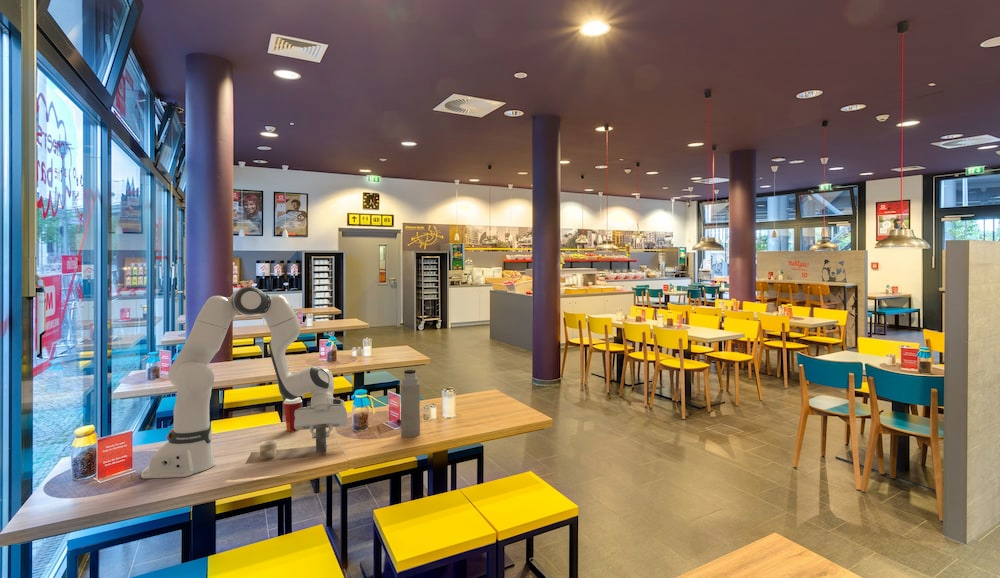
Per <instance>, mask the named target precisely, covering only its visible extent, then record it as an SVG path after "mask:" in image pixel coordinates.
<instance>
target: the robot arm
mask: <svg viewBox="0 0 1000 578" xmlns="http://www.w3.org/2000/svg"><path fill="white" fill-rule="evenodd" d="M258 314H259V315H260V316H261V317H263V319H264V320H265V322H266V324H267V326H268V328H269V331H270V341H268V349H269V354H270V358H271V362H272V364H273V365H272V366H273V368H274V371H275V375H276V378H277V386H278V392H279V393H280V395H281V396H282V397H283V398H285V399H289V400H294V399H296V398H298V397H300V398H301V396H304V395H306V394H309V393H311V394H312V395H311V398H310V406H305V407H302V406H301V407H300V408H299V409H296V410H295V413H294V416H295V421H294V428H295V429H296V430H298V431H304V430H305V431H306V430H309V432H310V434H311V438H312V439H316V431H314V430H316V425H317V424H326V429H327V428H328V430H326V438H330V437H331V436H330V434H331V433H332V431H333V429H334V428H338V427H346V426H347V425H348V424H349V422H348V421H349V420H348V416H349V415H348V411H347V408H346V407H345V401H344V400H343V399H341V398H335V397H334V391H335V383H334V382H335V381H334V375H333V373H332V371H331V370H329V369H327V368H321V367H319V366H317V365H313V366H310V367H306V368H304V369H301V370H299V371H297V372H294V373H292V372H291V370H290V368H289V365H288V360H287V356H286V351H287V349H288V348H289V347H290V346H291V344H293V343H294V342H295V341H296V339H298V337H299V335H300V334H301V330H302V327H301V323H300V320H299V318H298V315H297V314H296V312H295V309H294V308H293V307H292V305H291V303H290V302H289V301H288V299H287V298H286V296H284V295H282V294H272V295H268V294H267V293H265V292H264V291H263V290H261V289H259V288H258V287H256V286H243V287H240V288H238V289H237V290H236V291H235V292H233V293H232V294H231V295H229V296H228V297H226V296H222V295H213V296H210V297H209V298H208V299H207V300H206V302H205V303H204V304H203V305H202V308H200V311H199V312H198V314H197V315H196V319H195V321H194V323H193V326H192V328H191V331H190V333H189V335H188V337H187V339H186V341H185V343H184V345H183V346H182V348H181V350H180V351H179V352H178V354H177V356H176V357H175V360H174V361H173V363H172V364H171V365H170V367H169V368H168V372H167V374H168V375H167V376H168V380H169V382H170V383H171V385H173V386H174V387H176V398H175V405H174V408H173V428H172V429H171V430H169V433H168V434H167V435H166V440H167V442H166V443H164V444H163V445H162V446H161V447H160V448H158V449H157V450H156V451H155V452H154V453H152V455H151V457H150V458H149V459H150V460H149V463H148V466H146V467H145V468H144V469H143V470H142V471H141V474H140V478H142V479H164V478H165V479H168V478H186V477H189V476H191V475H194V474H196V473H200V472H204V471H206V470H208V469H211V468H213V467H214V466H215V465H216V460H215V457H214V454H213V448H212V439H213V438H212V437H213V435H212V434H213V433H212V432H213V431H212V426H211V425H210V422H211V421H210V403H211V402H210V400H211V396H212V388H213V385H214V383H215V374H214V372H213V370H212V369H211V367H210V366H209V364H210V363H211V362H212V359H213V358H214V357H215V356H216V354H217V353H218V352H219V351H220V349H221V347H222V345H223V342H224V340H225V338H226V335H227V333H228V330H229V327H230V326H231V323H232V321H233V319H234V318H236V316H246V317H249V316H253V315H258Z"/></svg>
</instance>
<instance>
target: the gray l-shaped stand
mask: <svg viewBox="0 0 1000 578" xmlns="http://www.w3.org/2000/svg"><path fill="white" fill-rule="evenodd" d="M326 431H327V428H326V424H317V425H316V429H315V432H316V438H315V445H314V446H313V445H312V446H304V447H293V448H291V447H290V448H283V449H282V448H281V449H277V453H276V455H275V457H273V458H263V459H260V450H259V451H251V452H250V454H249V455H248V458H247V460H246V461H245V463H244V464H255V463H265V462H273V461H285V460H295V459H304V458H313V457H314V458H315V457H323V456H324V457H325V456H327V450H328V444H327V437H326Z"/></svg>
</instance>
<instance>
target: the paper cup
mask: <svg viewBox="0 0 1000 578" xmlns="http://www.w3.org/2000/svg"><path fill="white" fill-rule="evenodd" d="M302 402H303V400H302V398H301V396H300V397H298V398H296V399H294V400H289V399H287V398H285V399H284V401H283V404H284V415H285V425H286V426H285V427H286V431H287V432H289V431H294V432H298V431H297V430H296V429H295V428H294V421H295V416H294V413H295V410H296V409H299V408H300V407H302Z"/></svg>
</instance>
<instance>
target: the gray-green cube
mask: <svg viewBox="0 0 1000 578" xmlns="http://www.w3.org/2000/svg"><path fill="white" fill-rule="evenodd" d="M277 450H278V449H277V440H276V439H273V440H271V439H270V440H263V441H262V442H261V443H260V445H259V451H260V459H263V458H273V457H275V455H276V453H277Z"/></svg>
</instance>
